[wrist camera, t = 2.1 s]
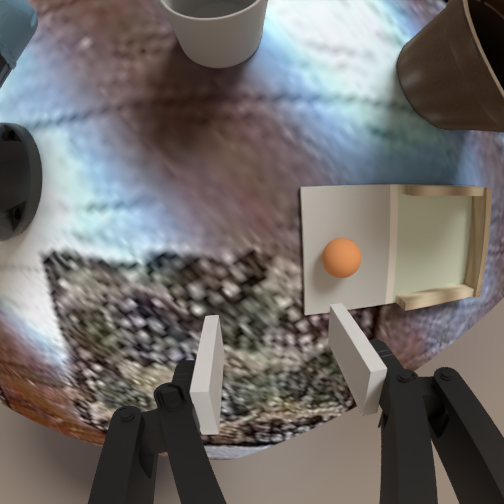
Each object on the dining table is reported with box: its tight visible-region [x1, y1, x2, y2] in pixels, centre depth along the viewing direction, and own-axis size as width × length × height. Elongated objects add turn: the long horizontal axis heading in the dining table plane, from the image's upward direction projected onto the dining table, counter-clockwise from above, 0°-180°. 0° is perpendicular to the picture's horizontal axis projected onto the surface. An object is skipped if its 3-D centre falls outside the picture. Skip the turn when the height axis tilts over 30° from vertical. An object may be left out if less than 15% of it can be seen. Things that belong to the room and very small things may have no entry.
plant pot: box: [397, 0, 504, 132], centre depth 19 cm, size 16×16×16 cm
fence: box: [396, 184, 491, 311], centre depth 30 cm, size 12×14×4 cm
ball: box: [322, 238, 361, 278], centre depth 29 cm, size 4×4×4 cm
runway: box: [300, 184, 472, 315], centre depth 31 cm, size 24×14×1 cm, turn 95°
